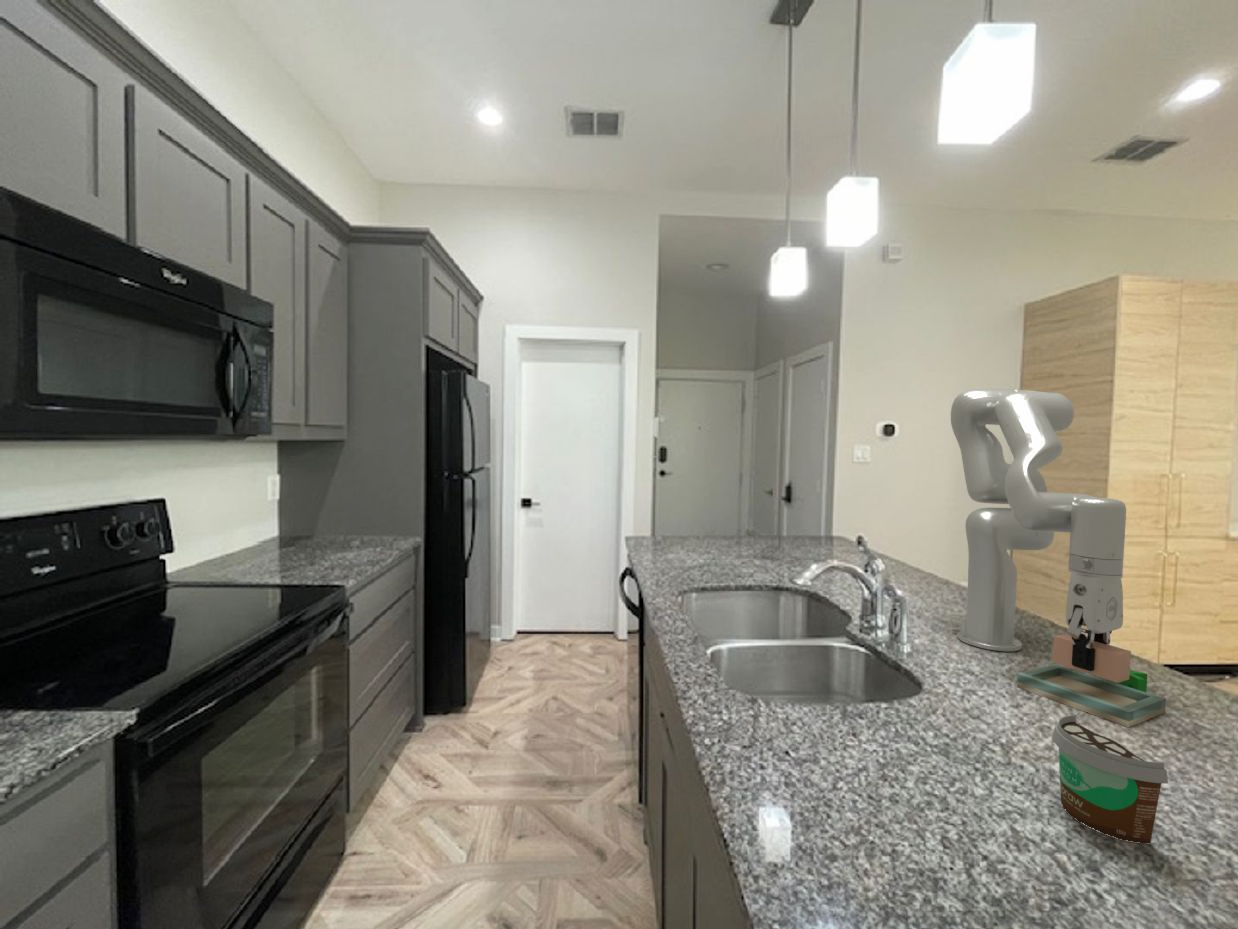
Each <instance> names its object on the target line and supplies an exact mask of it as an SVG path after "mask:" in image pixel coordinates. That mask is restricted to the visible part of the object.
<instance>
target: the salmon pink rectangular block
mask: <svg viewBox="0 0 1238 929" xmlns="http://www.w3.org/2000/svg"><path fill="white" fill-rule="evenodd" d="M1052 643H1053V644H1052V660H1051V661H1052V664H1057V665H1060V666H1064V667H1067V668H1070V669H1073V670H1076V671H1080V672H1083V673H1086V674H1089V675H1092V676H1093V675H1094V676H1097V677H1101V678H1104V679H1107V680H1110V681H1113V682H1117V683H1119V682H1122V681H1125V680H1129V676H1130V670H1131V656H1132V655H1131V654H1132V651H1131V650H1128V649H1124V648H1122V647H1117V646H1113V645H1110V644H1109V645H1107V644H1103V643H1099V642H1095V641H1094V642H1093V649H1095V663H1094V670H1093V671H1088V670H1085V669H1081V668H1078V667H1075V666H1073V665H1072V650H1073V644H1072V637H1071V635H1070V634H1069V633H1062V634H1057V635H1053V642H1052Z"/></svg>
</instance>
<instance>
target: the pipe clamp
mask: <svg viewBox="0 0 1238 929" xmlns="http://www.w3.org/2000/svg"><path fill="white" fill-rule="evenodd" d="M1092 676H1094V675H1092ZM1095 677H1097V676H1095ZM1099 678H1101V677H1099ZM1102 679H1104V678H1102ZM1105 680H1107V679H1105ZM1108 681H1110V680H1108ZM1111 682H1113V681H1111ZM1115 683H1117V682H1115ZM1118 684H1121V685H1124V686H1127V687H1131V688H1134V689H1137V690H1140V691H1143V692H1146V693H1147V687H1148V686H1147V684H1148V673H1146V672H1142V671H1141V672H1140V671H1136V670H1131V669H1130V676H1129V680H1125V681H1122V682H1119V683H1118Z"/></svg>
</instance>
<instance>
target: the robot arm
mask: <svg viewBox="0 0 1238 929" xmlns="http://www.w3.org/2000/svg"><path fill="white" fill-rule="evenodd" d="M1074 417H1075V409H1074V405H1073V403H1072V402H1071V400H1070V399H1069V398H1068V397H1066V396H1065V395H1064V394H1061V393H1059V392H1048V391H1039V390H1038V391H1037V390H1030V389H1027V390H1026V389H1001V388H999V389H998V388H997V389H996V388H976V389H975V388H974V389H968V390H965V391H963V392H960V393H959V394H958V395H957V396H956V397H955V398H954V400H953V402H952V405H951V409H950V423H951V424H950V425H951V428H952V432H953V435H954V437H955V439H956V441H957V444H958V446H959V448H960V453H961V461H962V467H963V472H964V481H965V485H966V490H967V494H968V496H969V497H970V498H971V500H972V501H974V502H977V503H982V504H992V505H993V504H994V505H995V504H997V505H998V504H999V505H1009V507H981V508H978V509H975V510H973V511H971V512H970V513H969V514H968V515H967V517H966V519H965V528H964V529H965V534H966V541H967V548H968V549H967V550H968V567H967V568H968V569H967V594H966V608H965V609H966V611H965V612H966V614H965V617H963V616H961V615H957V614H953V615H952V617H951V619H950V624H951V625H954V626H957V627H958V626H959V627H960V630H958V631H957V639H959V641H961V642H963V643H965V644H966V645H967V644H968V645H970V646H974V647H977V648H981V649H985V650H990V651H996V652H1008V653H1009V652H1017V651H1020V650H1021V649H1022V646H1023V645H1022V642H1021V641H1020V640H1019V639H1017V638H1015V621H1016V602H1017V601H1016V600H1017V583H1018V582H1017V581H1018V579H1017V578H1018V577H1017V576H1018V569H1017V566H1016V564H1015V562H1014V561H1013V559H1012V558H1011V556H1010V554H1009V553H1008V550H1009V551H1012V550H1015V551H1016V550H1017V551H1020V550H1021V551H1041V550H1044V549H1048V548H1049V547H1050V546H1051V545H1052V544H1053V541H1054V539H1055V533H1069V534H1070V536H1069V552H1068V553H1069V554H1068V570H1067V571H1068V572H1069V573H1070V577H1069V583H1068V587H1067V588H1068V589H1067V598H1066V606H1065V623H1066V625H1067V626H1068V628H1067V631H1066V632H1067V634H1069V635H1071V637H1072V644H1073V650H1072V665H1073V666H1075V667H1078V668H1081V669H1085V670H1088V671H1093V670H1094V663H1095V649H1093V642H1094V641H1095V642H1099V643H1103V644H1106V645H1110V644H1111V634H1112V632H1113V631H1116V630H1119V629H1121V628H1122V627H1123V624H1124V622H1123V621H1124V596H1123V595H1124V594H1123V592H1124V591H1123V583H1122V579H1123V572H1124V556H1125V554H1124V553H1125V539H1126V537H1125V536H1126V522H1127V521H1126V520H1127V519H1126V518H1127V507H1126V504H1125V503H1124V502H1123V501H1122V500H1119V499H1115V498H1110V497H1109V498H1107V497H1106V498H1105V497H1096V496H1094V495H1091V494H1090V495H1089V494H1084V493H1067V492H1065V493H1064V492H1049V491H1048V488H1047V484H1046V481H1045V479H1044V477H1043V474H1042V473H1041V472H1040V471H1039V470H1038V469H1039V468H1042V467H1044V466H1047V465H1048V464H1050V463H1052V462H1053V461H1055V460H1056V459H1058V458H1059V457H1060V456H1061V455H1062V452H1063V447H1064V446H1063V445H1062V442H1061V440H1060V438H1059V437H1058V434H1057V433H1056V432H1062V431H1064V430H1066V429H1068V428H1069V427H1070V426H1071V425H1072V423H1073V420H1074V419H1075V418H1074ZM986 425H992V426H993V425H994V426H999V427H1000V429H1001V432H1002V435H1003V437H1004V439H1005V441H1006V444H1007V446H1008V447H1009V449H1010V452H1011V454H1012V456H1013V458H1014V459H1013V461H1012V462H1011V464H1009V463H1007V462H1006V460H1005V456H1004V450H1003V446H1002V444H1001V442H1000V441H999V439H998V438H997V436H996V435H995V434H994V433H993V432H992V431H990V429H988V428H987V427H986ZM1082 626H1084V627H1086V628H1087V629H1086V628H1082ZM1086 634H1087V636H1086Z"/></svg>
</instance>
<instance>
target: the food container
mask: <svg viewBox="0 0 1238 929" xmlns="http://www.w3.org/2000/svg"><path fill="white" fill-rule="evenodd" d="M1051 736H1052V737H1051V738H1052V741H1053V743H1054V744H1055V746H1057V747H1058V758H1059V759H1058V761H1059V762H1058V763H1059V781H1060V786H1059V787H1060V803H1061V805H1063V806H1062V808H1063V810H1064V809H1066V811H1067V812H1068V813H1069V814H1070V815H1071V816H1073V817H1074V818H1076V819H1077V820H1078V821H1079V822H1078V821H1077V820H1076V821H1077V822H1078V823H1080V822H1082V823H1084V824H1085V825H1087V826H1089V827H1091V828H1094V829H1095V830H1098V831H1100V832H1102V833H1104V834H1108V835H1110V836H1114V837H1116V838H1118V839H1117V840H1119V839H1122V840H1121V841H1123V840H1128V841H1133V842H1140V843H1150V844H1152V843H1151V842H1152V835H1153V830H1154V825H1155V821H1156V819H1155V818H1156V816H1157V815H1156V814H1157V809H1158V804H1159V797H1160V793H1161V792H1160V791H1161V787H1162V784H1169V780H1168V772H1167V769H1166V768H1165V762H1164V761H1163V762H1161V761H1160V762H1159V761H1149V760H1148V761H1146V760H1144V759H1142V758H1140V757H1139V756H1137V755H1136V754H1135V753H1132V751H1130V750H1128V749H1127V747H1125V746H1123V745H1122V744H1120V743H1118V742H1117V741H1115V740H1113V739H1111V738H1109V737H1106V736H1103V735H1101V734H1098V733H1096V732H1094V731H1092V730H1090V729H1088V728H1086V727H1085V726H1083V725H1081V724H1079V723H1077V715H1076V714H1071V715H1065V716H1062V717H1061V718H1059V719H1058V722H1056V723H1055V725H1054V728H1053V732H1052V734H1051ZM1066 811H1065V812H1066ZM1067 812H1066V813H1067ZM1068 813H1067V814H1068ZM1069 814H1068V815H1069ZM1070 815H1069V816H1070ZM1071 816H1070V817H1071ZM1074 818H1073V819H1074ZM1085 825H1084V826H1085ZM1104 834H1103V835H1104Z"/></svg>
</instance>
